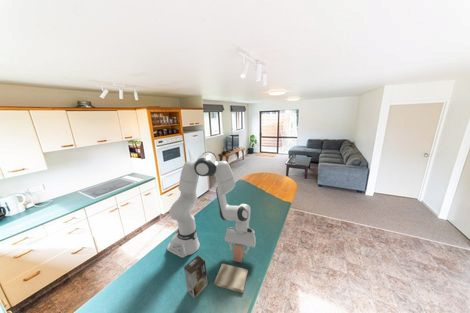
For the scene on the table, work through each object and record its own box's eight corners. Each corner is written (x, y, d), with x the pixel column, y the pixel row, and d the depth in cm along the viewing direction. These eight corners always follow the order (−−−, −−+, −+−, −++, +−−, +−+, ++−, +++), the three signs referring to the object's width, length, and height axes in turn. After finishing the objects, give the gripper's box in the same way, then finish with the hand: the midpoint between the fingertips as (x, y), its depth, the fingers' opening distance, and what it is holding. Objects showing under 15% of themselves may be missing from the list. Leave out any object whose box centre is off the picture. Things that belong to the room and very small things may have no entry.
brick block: (233, 260, 105) (233, 248, 103) (235, 254, 109) (235, 243, 107) (241, 262, 103) (241, 250, 101) (243, 256, 108) (243, 244, 106)
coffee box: (200, 278, 94) (198, 254, 90) (208, 285, 90) (205, 260, 86) (186, 291, 87) (183, 266, 83) (194, 299, 83) (191, 273, 79)
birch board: (214, 284, 90) (214, 281, 90) (222, 266, 101) (222, 263, 101) (242, 293, 85) (242, 290, 85) (248, 272, 97) (247, 269, 96)
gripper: (225, 225, 112) (221, 248, 105) (256, 230, 106) (253, 255, 99) (228, 227, 117) (224, 249, 110) (257, 232, 111) (254, 256, 104)
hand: (238, 252), depth 104 cm, fingers open, 8 cm apart
